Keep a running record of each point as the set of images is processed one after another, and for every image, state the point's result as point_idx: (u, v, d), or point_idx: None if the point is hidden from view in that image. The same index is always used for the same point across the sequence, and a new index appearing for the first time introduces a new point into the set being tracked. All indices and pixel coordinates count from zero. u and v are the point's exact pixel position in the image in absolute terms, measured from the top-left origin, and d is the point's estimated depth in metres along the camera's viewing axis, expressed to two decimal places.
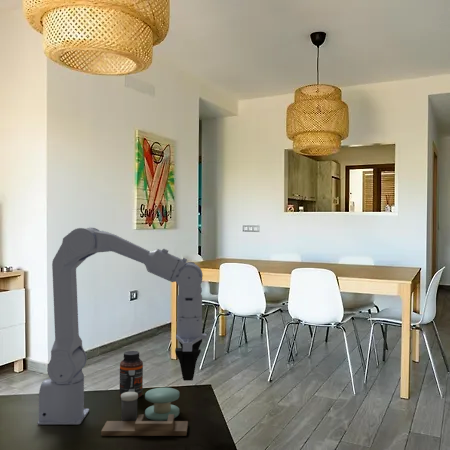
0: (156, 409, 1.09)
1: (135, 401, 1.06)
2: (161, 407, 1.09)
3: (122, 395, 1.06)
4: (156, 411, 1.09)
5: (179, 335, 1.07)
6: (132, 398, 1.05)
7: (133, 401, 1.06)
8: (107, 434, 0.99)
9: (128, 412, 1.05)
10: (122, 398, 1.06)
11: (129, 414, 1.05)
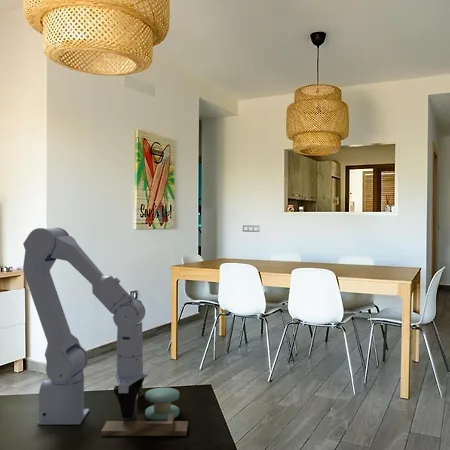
0: (156, 409, 1.09)
1: (135, 401, 1.06)
2: (161, 407, 1.09)
3: None
4: (156, 411, 1.09)
5: (118, 374, 1.05)
6: None
7: None
8: (107, 434, 0.99)
9: None
10: None
11: None
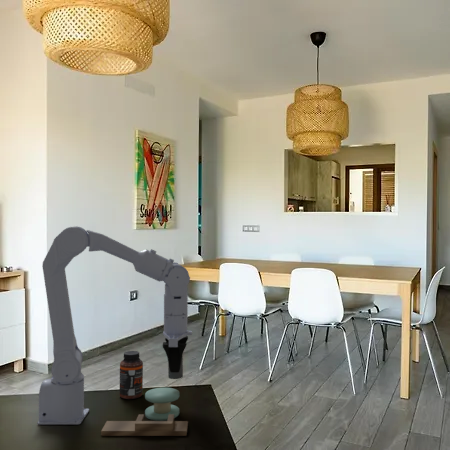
0: (156, 409, 1.09)
1: None
2: (161, 407, 1.09)
3: None
4: (156, 411, 1.09)
5: (166, 332, 1.12)
6: None
7: None
8: (107, 434, 0.99)
9: None
10: None
11: None
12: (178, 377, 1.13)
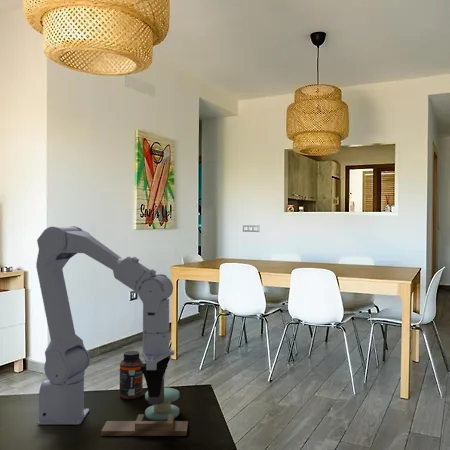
0: (156, 409, 1.09)
1: (162, 381, 1.02)
2: (161, 407, 1.09)
3: None
4: (156, 411, 1.09)
5: (144, 352, 1.01)
6: None
7: None
8: (107, 434, 0.99)
9: None
10: None
11: None
12: (159, 402, 1.01)
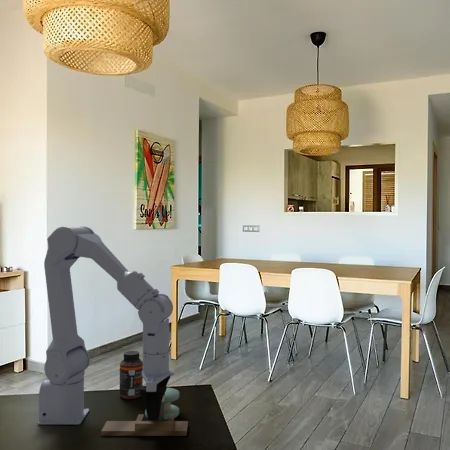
0: None
1: (162, 403, 1.02)
2: None
3: None
4: None
5: (144, 372, 1.01)
6: None
7: (161, 403, 1.02)
8: (107, 434, 0.99)
9: None
10: None
11: None
12: None
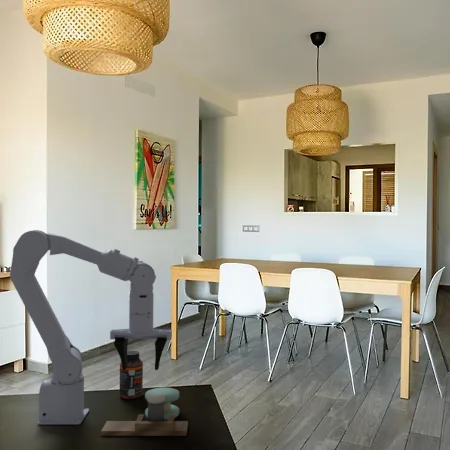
0: None
1: (162, 403, 1.02)
2: None
3: (149, 397, 1.02)
4: None
5: None
6: (160, 400, 1.01)
7: (161, 403, 1.02)
8: (107, 434, 0.99)
9: (155, 415, 1.01)
10: (149, 400, 1.02)
11: (156, 416, 1.01)
12: None
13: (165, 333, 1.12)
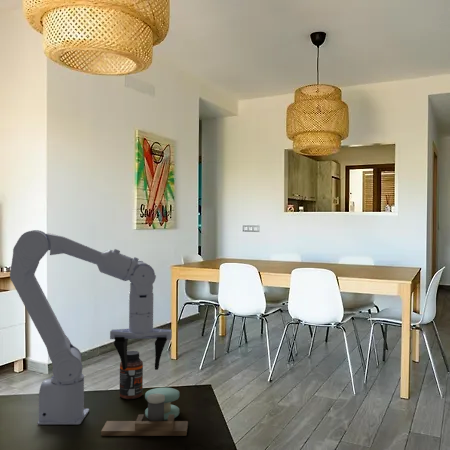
0: None
1: (162, 403, 1.02)
2: None
3: (149, 397, 1.02)
4: None
5: None
6: (160, 400, 1.01)
7: (161, 403, 1.02)
8: (107, 434, 0.99)
9: (155, 415, 1.01)
10: (149, 400, 1.02)
11: (156, 417, 1.01)
12: None
13: (165, 333, 1.12)
